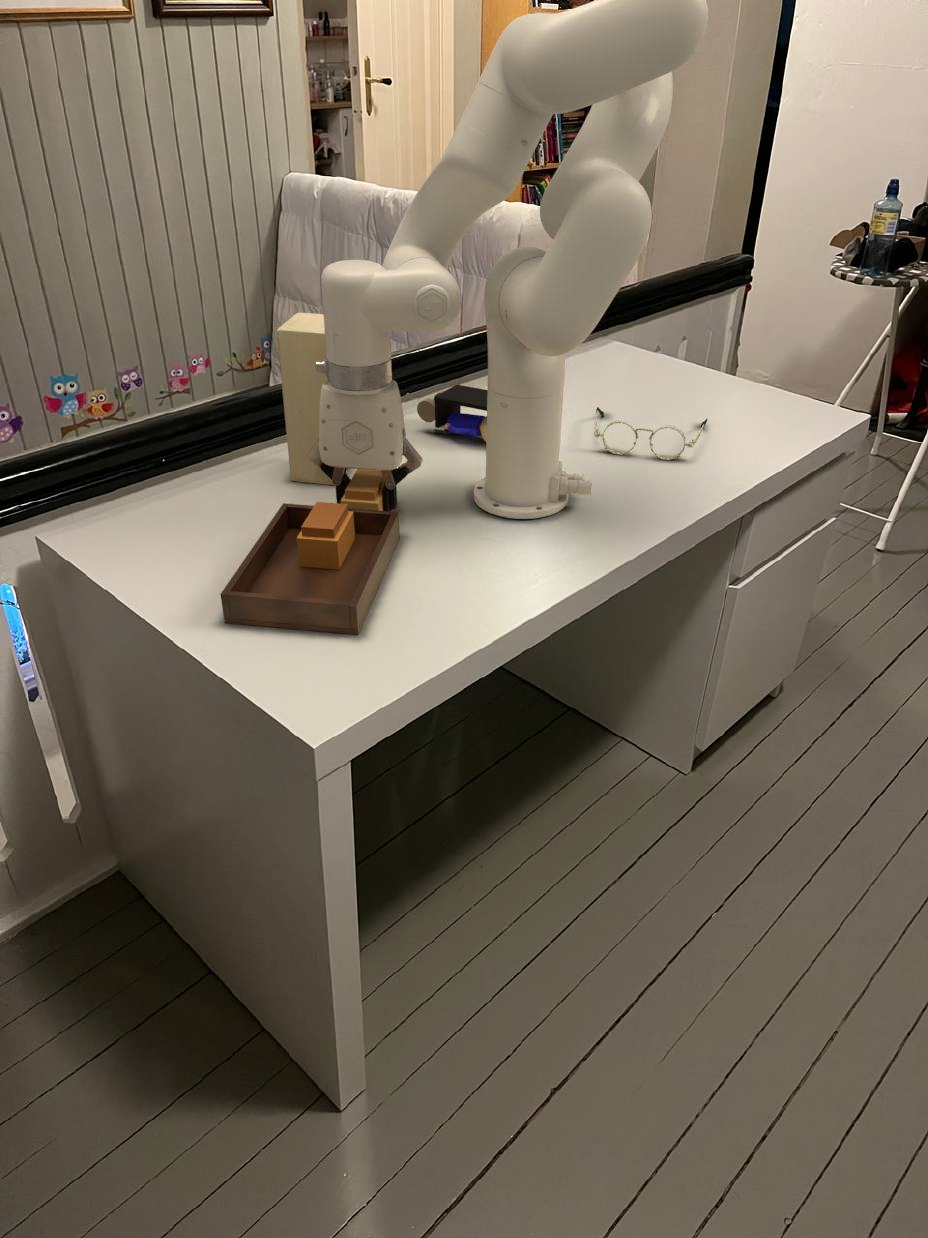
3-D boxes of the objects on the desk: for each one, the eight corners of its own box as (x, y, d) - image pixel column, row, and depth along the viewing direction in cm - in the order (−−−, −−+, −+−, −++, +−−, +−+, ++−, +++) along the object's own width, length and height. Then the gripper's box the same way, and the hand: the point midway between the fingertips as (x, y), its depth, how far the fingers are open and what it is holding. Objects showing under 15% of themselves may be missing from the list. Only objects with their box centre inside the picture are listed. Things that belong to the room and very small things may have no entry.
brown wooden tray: (399, 537, 117) (399, 511, 115) (358, 634, 99) (356, 605, 97) (285, 528, 118) (283, 503, 116) (224, 622, 100) (220, 594, 98)
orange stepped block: (355, 539, 115) (352, 502, 112) (339, 569, 109) (336, 531, 106) (317, 536, 116) (313, 499, 113) (299, 566, 109) (295, 528, 107)
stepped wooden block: (392, 504, 124) (390, 469, 122) (379, 530, 118) (377, 494, 115) (356, 501, 125) (354, 466, 122) (342, 527, 119) (339, 491, 116)
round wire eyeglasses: (583, 450, 140) (585, 418, 137) (599, 414, 152) (601, 384, 149) (700, 464, 136) (705, 431, 133) (706, 425, 148) (711, 395, 145)
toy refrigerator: (341, 486, 129) (330, 332, 117) (290, 481, 130) (274, 328, 118) (358, 463, 135) (349, 315, 124) (309, 458, 136) (296, 311, 125)
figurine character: (417, 442, 145) (500, 454, 138) (411, 394, 142) (496, 403, 134) (442, 428, 150) (523, 439, 142) (437, 381, 146) (520, 389, 138)
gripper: (280, 379, 109) (295, 519, 119) (425, 387, 107) (427, 530, 117) (299, 358, 115) (311, 494, 125) (436, 366, 113) (437, 503, 123)
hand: (367, 510), depth 121 cm, fingers closed on stepped wooden block, 4 cm apart
